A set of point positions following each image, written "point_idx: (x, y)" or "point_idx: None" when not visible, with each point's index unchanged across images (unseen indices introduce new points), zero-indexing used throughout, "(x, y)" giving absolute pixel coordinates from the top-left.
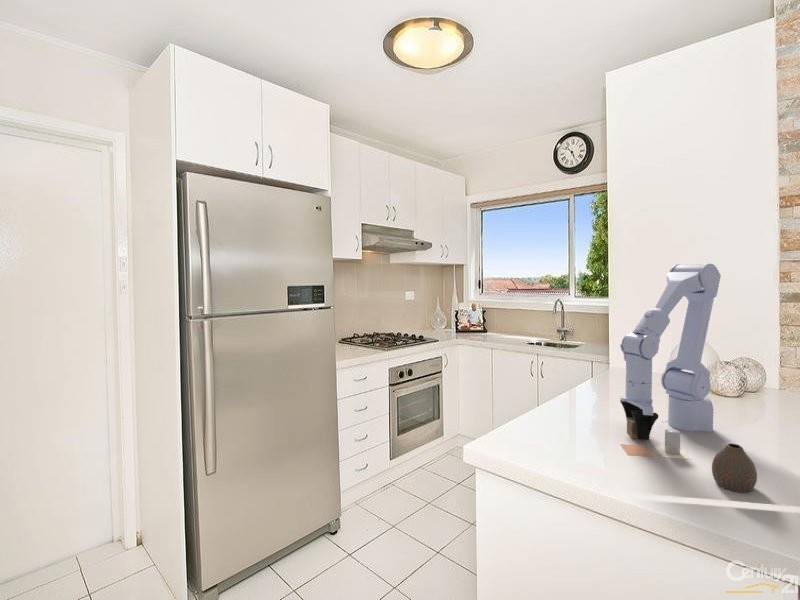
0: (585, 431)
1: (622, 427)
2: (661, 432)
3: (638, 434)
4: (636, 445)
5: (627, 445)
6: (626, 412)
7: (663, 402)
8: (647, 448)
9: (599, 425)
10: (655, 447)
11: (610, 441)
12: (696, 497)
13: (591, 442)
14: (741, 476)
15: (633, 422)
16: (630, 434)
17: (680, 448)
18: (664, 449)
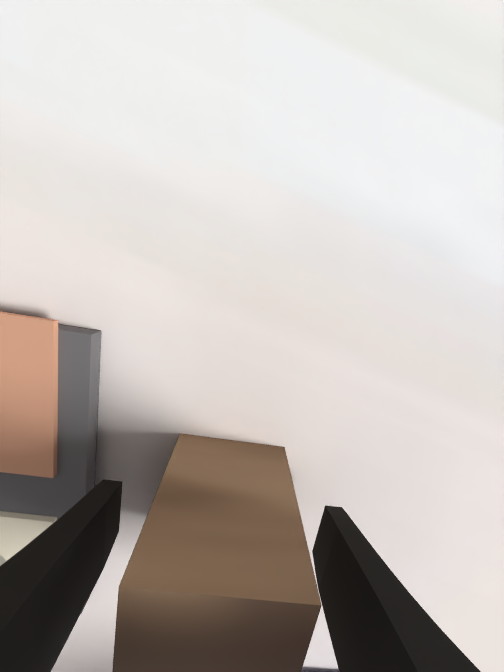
0: (388, 175)
1: (420, 476)
2: (318, 628)
3: (68, 511)
4: (44, 425)
5: (36, 366)
6: (410, 669)
7: None
8: (2, 470)
9: (486, 345)
10: (29, 520)
11: (178, 296)
12: None
13: (148, 123)
14: None
15: (121, 601)
16: (202, 464)
17: None
18: (5, 553)
